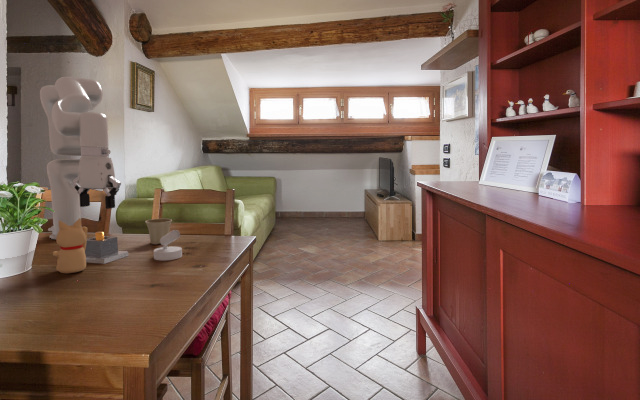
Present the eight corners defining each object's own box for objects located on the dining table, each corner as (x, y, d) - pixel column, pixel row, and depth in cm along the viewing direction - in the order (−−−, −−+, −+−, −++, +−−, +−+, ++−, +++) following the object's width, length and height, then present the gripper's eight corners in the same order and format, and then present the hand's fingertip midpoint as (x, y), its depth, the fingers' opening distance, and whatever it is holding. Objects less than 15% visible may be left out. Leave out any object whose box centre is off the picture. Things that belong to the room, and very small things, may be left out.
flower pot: (166, 245, 140) (165, 222, 139) (141, 245, 140) (140, 222, 140) (176, 240, 150) (176, 218, 149) (153, 240, 150) (152, 218, 149)
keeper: (72, 261, 118) (70, 234, 117) (98, 253, 128) (96, 228, 127) (104, 263, 115) (102, 236, 114) (128, 255, 125) (127, 230, 124)
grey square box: (100, 250, 126) (99, 235, 125) (118, 251, 124) (117, 236, 124) (82, 255, 119) (81, 240, 118) (101, 257, 117) (100, 241, 117)
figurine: (82, 264, 115) (79, 215, 113) (97, 270, 109) (94, 218, 107) (49, 271, 108) (45, 218, 106) (63, 277, 102) (60, 222, 101)
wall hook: (163, 232, 116) (147, 228, 122) (164, 262, 117) (148, 257, 123) (188, 228, 123) (172, 225, 129) (189, 257, 124) (173, 252, 130)
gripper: (127, 153, 120) (129, 207, 122) (82, 152, 124) (85, 204, 126) (108, 153, 113) (111, 210, 115) (61, 152, 117) (65, 207, 119)
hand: (97, 207), depth 120 cm, fingers open, 9 cm apart
